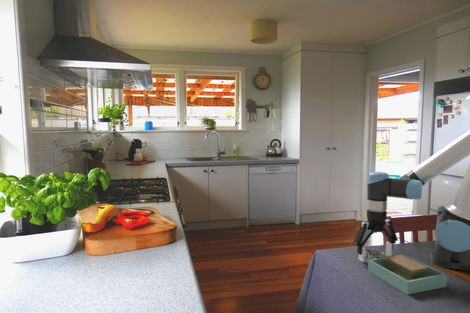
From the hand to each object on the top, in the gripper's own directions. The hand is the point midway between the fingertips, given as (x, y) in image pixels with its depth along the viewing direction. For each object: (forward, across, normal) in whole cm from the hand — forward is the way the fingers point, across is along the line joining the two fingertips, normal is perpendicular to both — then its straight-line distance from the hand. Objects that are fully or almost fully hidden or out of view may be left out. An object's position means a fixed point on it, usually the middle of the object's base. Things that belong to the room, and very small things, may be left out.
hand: (375, 259), depth 132 cm
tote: (0, +3, +18) cm, 18 cm away
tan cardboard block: (-1, +3, +18) cm, 18 cm away
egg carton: (+1, 0, 0) cm, 1 cm away
